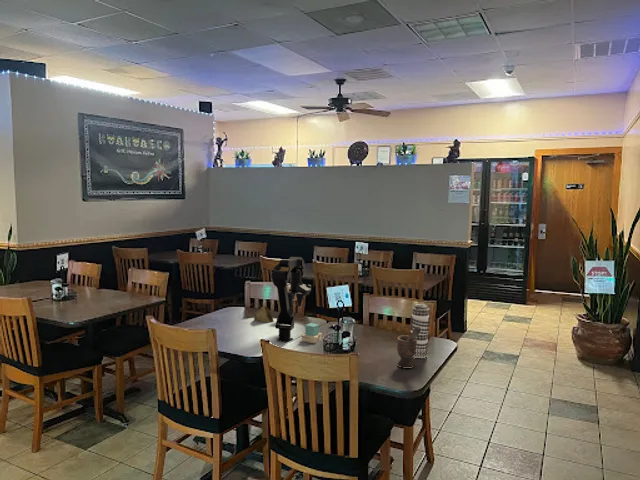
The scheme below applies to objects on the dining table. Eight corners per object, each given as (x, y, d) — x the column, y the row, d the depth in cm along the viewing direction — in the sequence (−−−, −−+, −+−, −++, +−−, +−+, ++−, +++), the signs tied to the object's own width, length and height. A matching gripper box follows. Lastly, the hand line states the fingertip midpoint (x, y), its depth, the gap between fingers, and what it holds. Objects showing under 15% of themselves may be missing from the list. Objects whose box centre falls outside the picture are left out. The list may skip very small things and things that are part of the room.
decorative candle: (414, 351, 236) (416, 301, 234) (431, 356, 230) (434, 305, 228) (404, 356, 229) (407, 304, 227) (422, 360, 223) (425, 308, 221)
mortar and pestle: (424, 367, 215) (427, 324, 212) (416, 373, 208) (418, 328, 206) (401, 361, 221) (403, 319, 219) (392, 366, 215) (394, 323, 212)
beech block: (316, 344, 244) (316, 337, 244) (301, 341, 247) (301, 335, 246) (321, 339, 251) (321, 333, 251) (307, 337, 254) (307, 331, 254)
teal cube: (313, 336, 245) (313, 326, 245) (305, 334, 248) (305, 325, 247) (318, 334, 249) (318, 324, 249) (310, 332, 252) (310, 322, 252)
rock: (248, 317, 281) (259, 318, 274) (255, 304, 284) (265, 305, 277) (261, 325, 287) (271, 327, 280) (267, 312, 291) (277, 314, 283)
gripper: (299, 284, 248) (298, 313, 250) (317, 279, 265) (316, 306, 266) (281, 281, 254) (280, 310, 255) (299, 276, 270) (299, 304, 272)
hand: (295, 308), depth 262 cm, fingers open, 9 cm apart
